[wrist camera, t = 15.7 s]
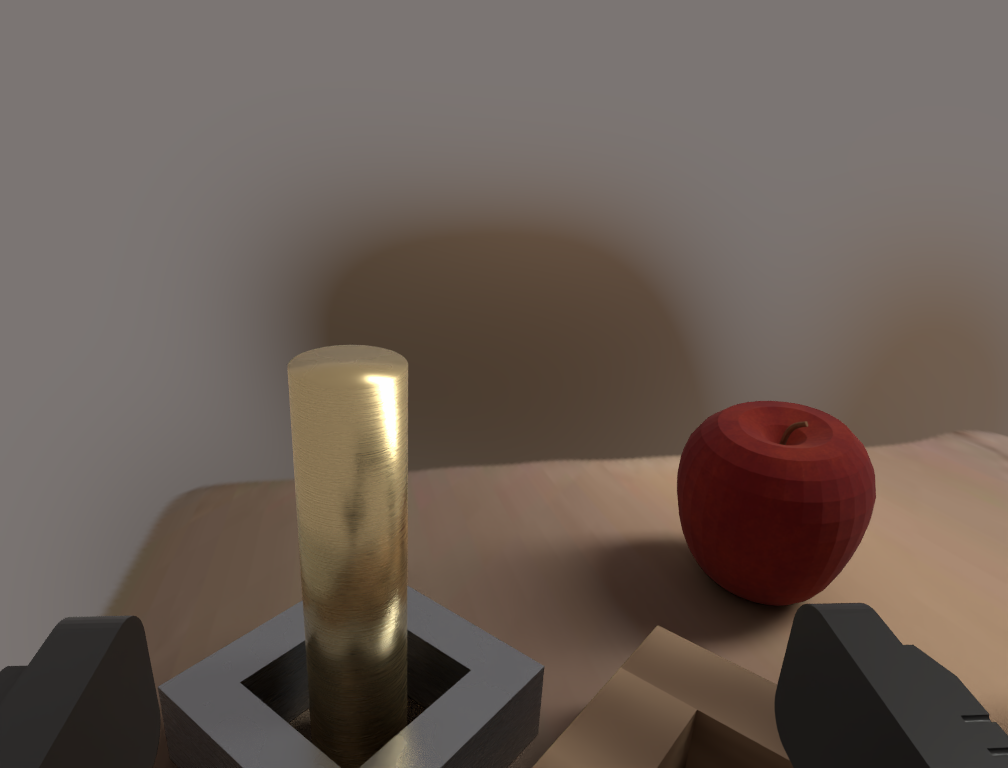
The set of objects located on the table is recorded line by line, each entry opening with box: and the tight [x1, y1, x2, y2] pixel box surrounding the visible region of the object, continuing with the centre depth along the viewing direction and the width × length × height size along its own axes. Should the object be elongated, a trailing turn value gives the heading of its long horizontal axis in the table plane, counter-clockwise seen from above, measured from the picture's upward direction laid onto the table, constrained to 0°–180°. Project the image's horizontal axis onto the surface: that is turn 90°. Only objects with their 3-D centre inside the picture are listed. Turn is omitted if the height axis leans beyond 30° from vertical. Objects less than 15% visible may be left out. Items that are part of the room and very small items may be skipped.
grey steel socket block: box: [158, 586, 544, 768], centre depth 28 cm, size 10×10×4 cm
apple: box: [677, 401, 876, 606], centre depth 38 cm, size 10×10×10 cm
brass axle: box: [288, 345, 408, 768], centre depth 25 cm, size 4×4×16 cm
